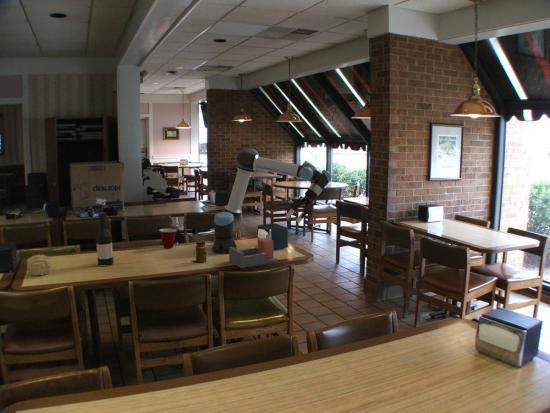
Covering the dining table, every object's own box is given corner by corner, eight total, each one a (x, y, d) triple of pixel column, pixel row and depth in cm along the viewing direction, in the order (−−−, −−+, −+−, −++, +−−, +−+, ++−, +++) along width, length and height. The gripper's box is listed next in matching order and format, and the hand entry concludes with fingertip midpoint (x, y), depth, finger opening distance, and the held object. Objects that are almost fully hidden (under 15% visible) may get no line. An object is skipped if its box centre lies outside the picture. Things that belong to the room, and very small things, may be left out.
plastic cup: (181, 246, 310) (180, 228, 308) (168, 250, 301) (168, 232, 299) (168, 244, 316) (168, 226, 313) (156, 248, 307) (155, 230, 304)
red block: (257, 255, 285) (257, 239, 283) (267, 253, 288) (267, 237, 287) (264, 259, 278) (264, 242, 276) (274, 257, 282) (274, 240, 280)
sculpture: (27, 279, 250) (25, 259, 248) (28, 272, 261) (26, 252, 259) (51, 276, 255) (49, 256, 253) (51, 269, 266) (50, 250, 263)
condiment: (209, 262, 279) (208, 242, 276) (195, 264, 274) (195, 244, 272) (203, 259, 285) (203, 239, 282) (190, 261, 280) (189, 241, 278)
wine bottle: (116, 262, 277) (113, 211, 272) (107, 266, 270) (103, 214, 264) (104, 261, 280) (100, 210, 274) (94, 265, 272) (91, 213, 267)
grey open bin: (229, 261, 280) (228, 247, 279) (265, 255, 292) (265, 241, 290) (241, 268, 267) (240, 253, 265) (278, 261, 279) (278, 247, 277)
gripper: (328, 199, 284) (306, 227, 280) (305, 193, 305) (285, 220, 300) (321, 191, 281) (299, 219, 276) (298, 185, 301) (277, 212, 297)
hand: (291, 219), depth 288 cm, fingers open, 12 cm apart
